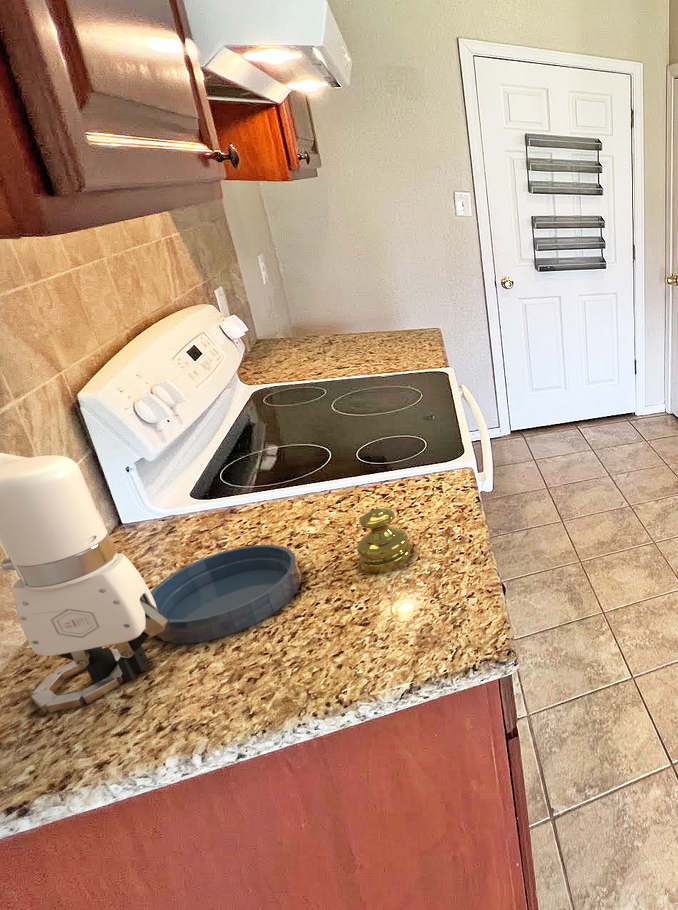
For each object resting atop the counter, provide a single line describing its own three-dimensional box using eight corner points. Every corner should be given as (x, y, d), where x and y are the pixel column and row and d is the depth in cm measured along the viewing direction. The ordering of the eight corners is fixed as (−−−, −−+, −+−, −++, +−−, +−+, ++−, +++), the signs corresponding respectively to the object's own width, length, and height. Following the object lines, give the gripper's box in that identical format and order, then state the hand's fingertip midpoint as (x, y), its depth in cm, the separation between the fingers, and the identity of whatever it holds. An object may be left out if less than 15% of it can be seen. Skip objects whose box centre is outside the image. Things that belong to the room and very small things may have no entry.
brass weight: (372, 583, 91) (359, 530, 87) (354, 563, 95) (342, 512, 92) (419, 561, 96) (409, 511, 92) (401, 543, 101) (390, 494, 97)
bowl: (127, 661, 75) (115, 634, 74) (189, 579, 91) (181, 556, 89) (281, 631, 81) (272, 606, 79) (316, 559, 96) (309, 536, 94)
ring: (20, 723, 67) (14, 712, 66) (68, 668, 74) (63, 657, 73) (112, 704, 69) (107, 693, 69) (150, 653, 77) (145, 642, 76)
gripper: (-55, 595, 60) (19, 720, 67) (136, 565, 65) (187, 684, 72) (0, 553, 67) (62, 671, 74) (170, 529, 72) (214, 641, 79)
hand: (124, 677), depth 73 cm, fingers closed
